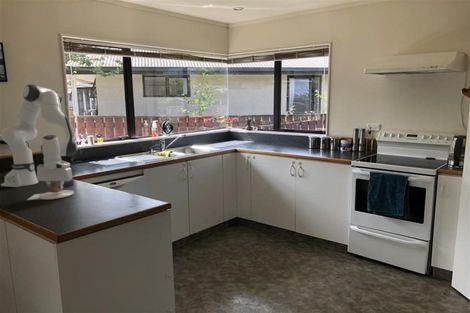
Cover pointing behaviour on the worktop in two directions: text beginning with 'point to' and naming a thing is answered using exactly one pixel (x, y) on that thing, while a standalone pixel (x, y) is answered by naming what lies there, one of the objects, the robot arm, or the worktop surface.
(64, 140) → the robot arm
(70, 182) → the flask
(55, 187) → the block
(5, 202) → the worktop surface
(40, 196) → the plate
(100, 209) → the worktop surface
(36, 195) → the napkin
